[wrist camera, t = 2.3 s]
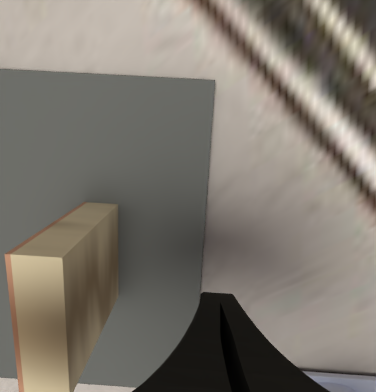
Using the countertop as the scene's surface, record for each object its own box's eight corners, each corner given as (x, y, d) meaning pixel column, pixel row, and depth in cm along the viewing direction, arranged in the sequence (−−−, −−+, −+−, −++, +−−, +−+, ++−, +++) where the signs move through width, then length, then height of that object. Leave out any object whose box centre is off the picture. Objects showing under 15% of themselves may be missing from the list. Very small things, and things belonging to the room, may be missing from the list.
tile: (118, 295, 18) (69, 398, 11) (86, 293, 18) (19, 394, 11) (118, 204, 17) (62, 257, 10) (83, 202, 17) (4, 254, 10)
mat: (192, 384, 20) (192, 391, 19) (-31, 367, 20) (-37, 374, 20) (214, 81, 15) (215, 80, 15) (-77, 66, 16) (-87, 64, 15)
